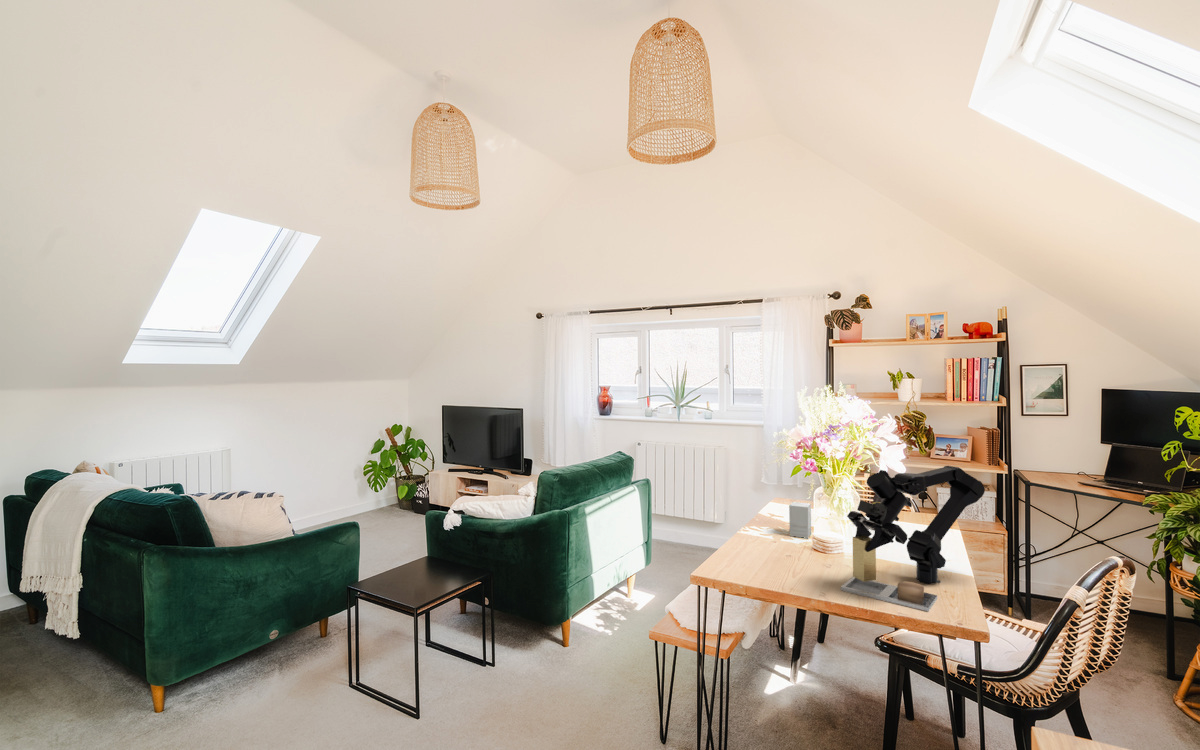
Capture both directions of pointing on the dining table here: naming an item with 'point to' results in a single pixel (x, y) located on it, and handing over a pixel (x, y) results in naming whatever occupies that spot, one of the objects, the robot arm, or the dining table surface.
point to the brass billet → (863, 559)
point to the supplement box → (800, 519)
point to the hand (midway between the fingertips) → (860, 548)
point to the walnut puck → (911, 592)
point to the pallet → (885, 593)
